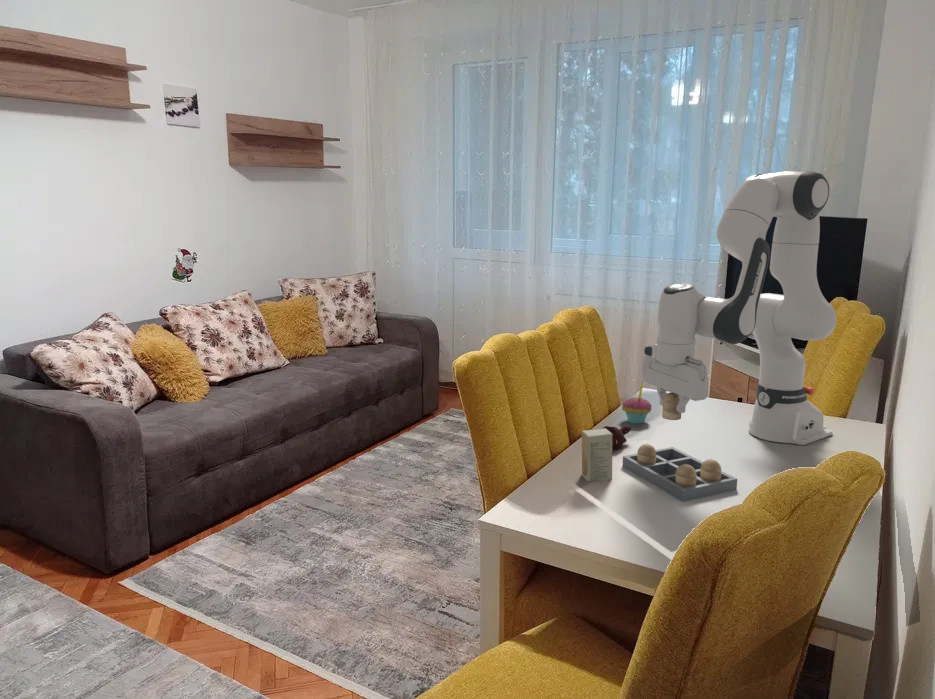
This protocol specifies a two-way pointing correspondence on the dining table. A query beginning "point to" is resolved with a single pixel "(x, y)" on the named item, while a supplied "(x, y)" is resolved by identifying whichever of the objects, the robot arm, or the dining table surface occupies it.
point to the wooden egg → (670, 406)
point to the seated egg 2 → (685, 476)
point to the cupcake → (636, 408)
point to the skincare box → (597, 454)
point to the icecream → (618, 435)
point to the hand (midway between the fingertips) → (672, 408)
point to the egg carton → (665, 474)
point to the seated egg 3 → (710, 471)
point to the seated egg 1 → (646, 454)
